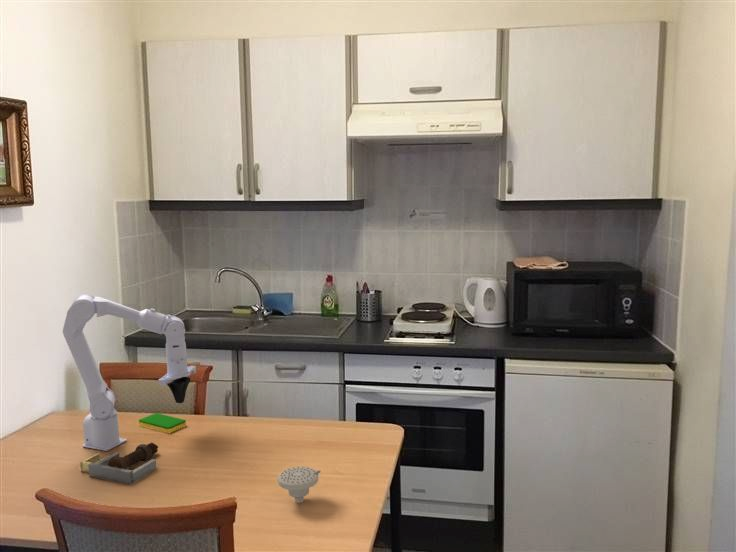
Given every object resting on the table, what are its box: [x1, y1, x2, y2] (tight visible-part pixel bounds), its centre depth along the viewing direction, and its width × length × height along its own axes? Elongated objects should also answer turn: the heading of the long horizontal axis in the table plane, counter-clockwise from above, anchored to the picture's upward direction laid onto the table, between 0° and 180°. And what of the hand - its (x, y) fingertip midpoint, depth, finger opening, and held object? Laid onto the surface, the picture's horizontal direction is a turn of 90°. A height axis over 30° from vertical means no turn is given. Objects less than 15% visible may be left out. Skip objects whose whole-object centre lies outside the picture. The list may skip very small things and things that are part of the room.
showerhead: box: [277, 466, 322, 504], centre depth 153 cm, size 9×7×10 cm
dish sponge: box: [138, 412, 187, 434], centre depth 204 cm, size 7×14×2 cm, turn 58°
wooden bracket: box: [79, 452, 111, 473], centre depth 175 cm, size 5×6×2 cm
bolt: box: [108, 442, 159, 470], centre depth 176 cm, size 6×5×15 cm
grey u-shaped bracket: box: [88, 452, 157, 486], centre depth 171 cm, size 14×10×3 cm
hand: (179, 402), depth 195 cm, fingers closed
